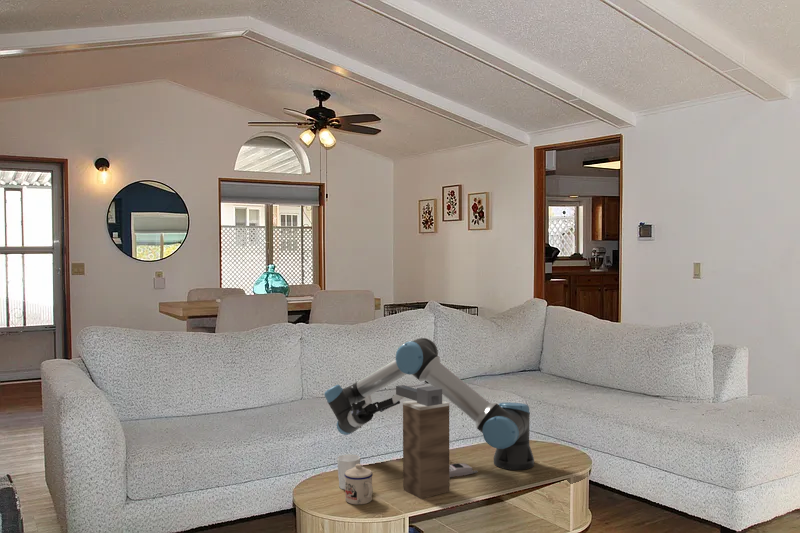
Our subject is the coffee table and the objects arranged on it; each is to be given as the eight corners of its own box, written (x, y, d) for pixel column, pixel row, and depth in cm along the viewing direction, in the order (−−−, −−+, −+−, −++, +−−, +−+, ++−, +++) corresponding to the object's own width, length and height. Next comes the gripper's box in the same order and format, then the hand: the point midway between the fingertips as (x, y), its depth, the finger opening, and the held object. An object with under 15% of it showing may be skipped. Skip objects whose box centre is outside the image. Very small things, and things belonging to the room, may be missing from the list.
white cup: (333, 485, 239) (333, 456, 239) (354, 481, 243) (354, 453, 243) (343, 492, 232) (343, 462, 232) (364, 488, 236) (364, 459, 236)
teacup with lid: (339, 499, 226) (339, 463, 226) (362, 493, 232) (362, 458, 231) (359, 510, 217) (359, 473, 216) (383, 503, 222) (383, 467, 222)
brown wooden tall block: (403, 489, 234) (402, 401, 233) (431, 483, 241) (431, 397, 240) (420, 498, 226) (420, 407, 225) (449, 491, 233) (449, 402, 232)
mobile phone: (407, 461, 247) (471, 453, 256) (407, 477, 248) (471, 469, 256) (413, 466, 242) (478, 458, 250) (414, 483, 242) (478, 474, 250)
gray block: (392, 394, 244) (392, 380, 244) (406, 392, 248) (406, 379, 247) (427, 406, 227) (427, 391, 227) (442, 403, 230) (442, 388, 230)
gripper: (390, 419, 274) (417, 401, 259) (334, 429, 260) (359, 410, 245) (385, 401, 277) (411, 382, 261) (329, 409, 263) (353, 390, 248)
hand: (386, 396), depth 253 cm, fingers open, 13 cm apart
